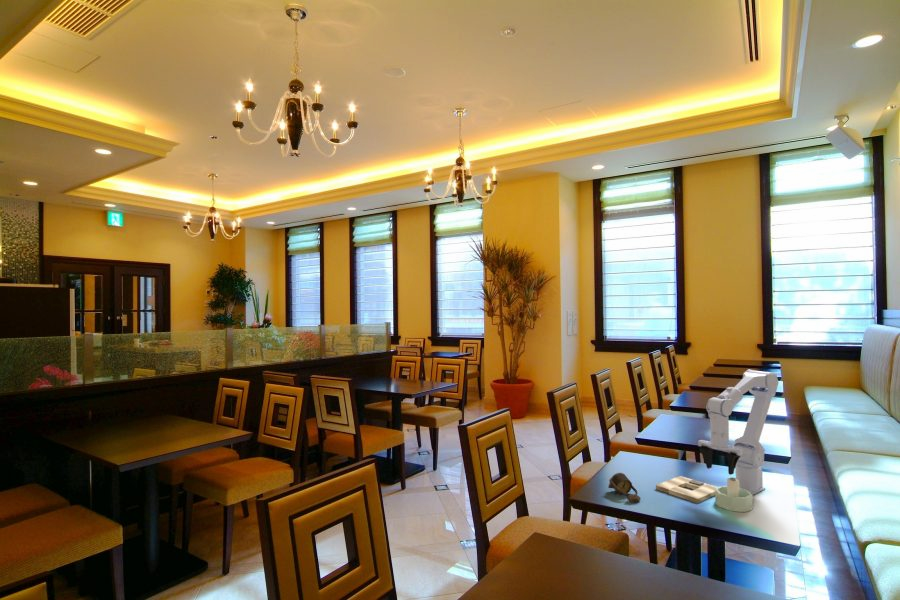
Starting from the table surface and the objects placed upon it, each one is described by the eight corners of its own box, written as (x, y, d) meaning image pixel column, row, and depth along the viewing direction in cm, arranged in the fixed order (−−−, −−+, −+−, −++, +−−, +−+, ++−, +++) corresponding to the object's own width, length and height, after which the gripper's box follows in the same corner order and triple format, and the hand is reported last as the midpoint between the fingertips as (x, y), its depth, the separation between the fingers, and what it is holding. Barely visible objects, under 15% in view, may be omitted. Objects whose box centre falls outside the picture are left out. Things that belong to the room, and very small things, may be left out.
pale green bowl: (725, 496, 179) (725, 483, 179) (758, 506, 170) (758, 493, 170) (709, 503, 173) (708, 490, 173) (742, 514, 164) (742, 501, 164)
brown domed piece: (636, 475, 187) (609, 468, 188) (645, 484, 174) (615, 477, 176) (632, 494, 187) (605, 487, 188) (641, 505, 174) (611, 497, 175)
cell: (730, 500, 174) (730, 475, 174) (741, 503, 171) (741, 478, 171) (725, 503, 172) (724, 478, 172) (736, 506, 169) (736, 481, 169)
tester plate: (680, 479, 196) (680, 474, 196) (721, 492, 183) (721, 486, 183) (655, 489, 187) (655, 483, 187) (697, 503, 174) (697, 497, 174)
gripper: (693, 429, 182) (693, 467, 182) (735, 438, 170) (735, 479, 170) (703, 426, 186) (704, 463, 186) (745, 435, 174) (745, 474, 174)
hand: (720, 470), depth 178 cm, fingers open, 7 cm apart
